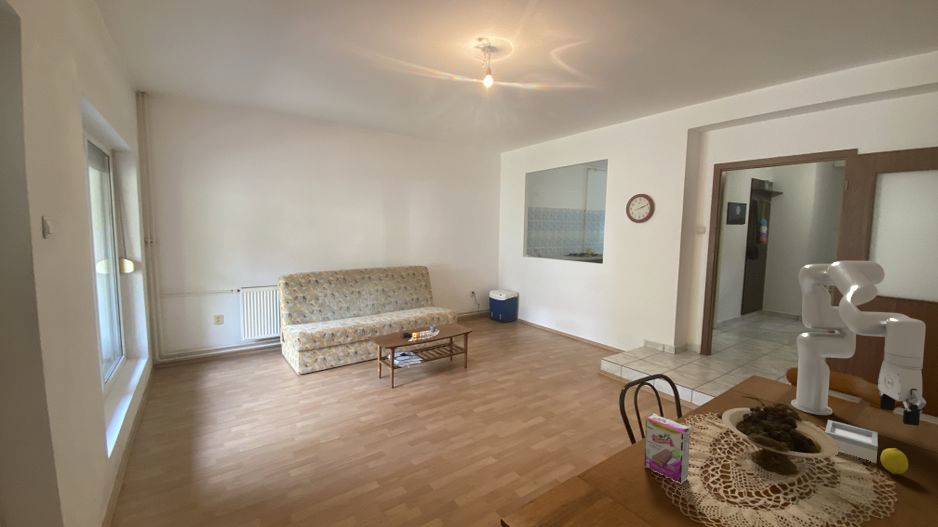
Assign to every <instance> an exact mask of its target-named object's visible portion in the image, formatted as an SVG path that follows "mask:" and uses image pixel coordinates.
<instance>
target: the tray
mask: <svg viewBox="0 0 938 527" xmlns="http://www.w3.org/2000/svg"><path fill="white" fill-rule="evenodd" d="M825 426H826V427H825V431H824V434H825V433H826V434H827V435H829V436H831V437H832V438H833V439H834V440H835V441H836V442H837V444H838V445H839V447H840V449H841V450H843V451H845V452H846V453H849V454H851V455H854V456H857V457H860V458H863V459H867V460H869V461H868V462H870V461H871V463H874V464H877V456H878V447H879V445H878V439H879V438H878V431H874V430H869V429H865V428H862V427H859V426H858V427H857V426H854V425H852V424H847V423H843V422H839V421H834V420H832V419H831V420H830V419H827V423H826V425H825ZM863 459H862V460H863Z"/></svg>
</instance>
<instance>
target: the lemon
mask: <svg viewBox="0 0 938 527" xmlns="http://www.w3.org/2000/svg"><path fill="white" fill-rule="evenodd" d="M880 462H881V465H882V466H883V468H885V470H887V471H888V472H890V473H891V474H892V475H898V474H904V473H905V472H907V470H908V469H909V460H908V458H907V455H906V454H905V453H904V452H902V451H901V450H899V449H898V448H895V447H893V448H892V447H891V448H889V447H888V448H885V449H883V450H882V452H881V454H880Z"/></svg>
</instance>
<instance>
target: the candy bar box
mask: <svg viewBox="0 0 938 527" xmlns="http://www.w3.org/2000/svg"><path fill="white" fill-rule="evenodd" d="M644 436H645V438H644V439H645V442H644V443H645V444H644V464H643V466H646V467H648V468H650V469H652V470H654V471H657V472H659V473H661V474H663V475H665V476H667V477H669V478H671V479H673V480H675V481H678V482H680V483H681V482H682V481H683V480H685V479H686V478H687V477H688V478H689V465H690V464H689V463H690V462H689V461H690V442H691V441H690V439H691V427H689V426H688V425H685V424H681V423H679V422H677V421H674V420H672V419H668V418H667V417H663V416H661V415H658V414H656V413H652V414H650V415H649V416H647V417H646V418H645V435H644Z"/></svg>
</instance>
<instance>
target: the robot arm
mask: <svg viewBox="0 0 938 527" xmlns="http://www.w3.org/2000/svg"><path fill="white" fill-rule="evenodd" d="M885 275H886V274H885V270H884V268H883V266H882V265H880V264H879V263H878V262H876V261H871V260H839V261H838V260H837V261H834V262H832V263H812V264H811V263H810V264H806V265H804V266H802V267H801V268H800V270H799V272H798V283H799V286H800V290H801V295H802V297H801V298H802V300H801V302H802V303H801V308H802V309H801V321H802V324H803V326H804V327H806V328H807V329H813V330H821V331H823V330H824V331H834V333H830V332H829V333H827V332H815V331H814V332H813V331H811V332H810V331H809V332H807V331H806V332H803V333H800V334H799V335H798V336H797V338H796V348H797V356H798V357H797V358H798V362H797V363H798V366H797V377H796V378H797V381H796V397H795V398H796V399H792V400H791V401H790V402H791V403H790V405H791V406H792V407H793V408H795V409H796V410H799V411H802V412H803V413H804V412H805V413H807V414H813V415H818V416H830V415H832V414H833V409H832V408H831V407H830V406H828V402H829V401H828V400H829V387H830V372H831V371H830V367H829V365H828V364H827V362H826V361H825V360H824V359H823V358H833V359H836V358H837V359H849V358H852V357H853V356H854V355H855V353H856V346H857V345H856V344H857V339H856V338H857V335H859V336H863V337H864V336H867V337H882V338H883V337H884V348H883V349H884V350H883V361H882V363H881V367H880V370H879V375H878V379H877V380H878V381H877V383H878V384H877V389H878V390H879V395H880V398H879V409H881V410H885V411H895V407H896V402H902V404H903V406H904V408H905V409H903V412H902V414H903V416H902V424H904V425H908V426H910V425H911V426H917V427H919V425H920V419H921V418H920V417H921V414H922V412H923V410H924V409H925V406H926V404H927V401H926V400H925V398H924V397H923V375H922V374H923V373H922V369H923V365H924V364H923V362H924V352H925V340H926V329H927V328H926V327H927V326H926V323H925V322H924V321H923V320H921V319H918V318H917V319H916V318H911V317H909V316H908V315H906V314H903V313H898V312H884V311H883V312H882V311H861V310H860V309H859V308H858V307H857V306H860V305H863V304H867V303H869V302H870V301H873V300H874V299H875V298H876V297H877V295H878V293H879V292H878V291H879V289H878V287H877V286H876V285H878V284H880V283H882V282H883V281H884V278H885ZM825 286H833V287H834V286H835V287H836V288H837V289H838V292H840V294H841V295H842V297H841V299H840V301H839V303H838V306H835V305H834V306H833V305H832V303H831V302H832V301H831V300H832V296H831V293H830V291H829V290H828V289H827V288H826V287H825ZM910 404H912V405H910Z"/></svg>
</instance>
